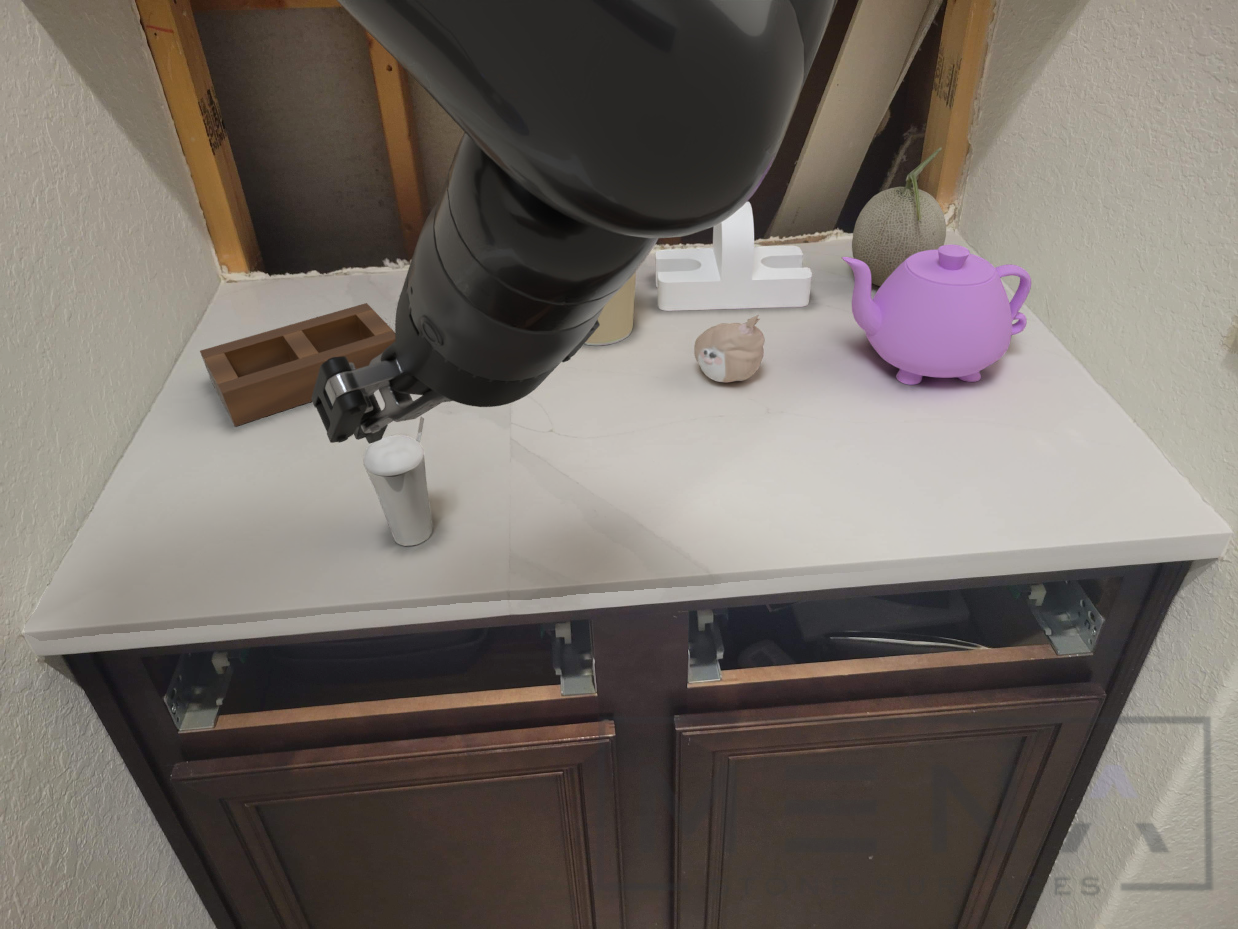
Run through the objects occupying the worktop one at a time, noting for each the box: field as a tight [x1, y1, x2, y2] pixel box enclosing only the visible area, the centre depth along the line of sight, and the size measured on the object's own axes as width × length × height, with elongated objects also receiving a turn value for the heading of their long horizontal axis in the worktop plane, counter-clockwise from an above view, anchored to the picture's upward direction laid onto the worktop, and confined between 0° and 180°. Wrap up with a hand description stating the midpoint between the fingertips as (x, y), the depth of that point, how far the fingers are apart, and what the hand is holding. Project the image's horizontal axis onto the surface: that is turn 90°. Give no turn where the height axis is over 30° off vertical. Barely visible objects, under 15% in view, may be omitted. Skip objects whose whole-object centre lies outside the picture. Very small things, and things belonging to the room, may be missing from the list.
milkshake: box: [362, 416, 434, 547], centre depth 65 cm, size 4×5×10 cm
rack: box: [199, 302, 395, 427], centre depth 87 cm, size 10×18×4 cm, turn 124°
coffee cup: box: [583, 271, 637, 346], centre depth 91 cm, size 9×9×12 cm
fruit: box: [851, 146, 947, 287], centre depth 97 cm, size 10×12×15 cm
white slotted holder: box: [654, 201, 813, 312], centre depth 98 cm, size 10×18×11 cm, turn 91°
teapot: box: [841, 244, 1032, 386], centre depth 83 cm, size 20×14×12 cm
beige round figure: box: [693, 314, 766, 384], centre depth 83 cm, size 7×6×8 cm
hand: (435, 401), depth 48 cm, fingers open, 8 cm apart
